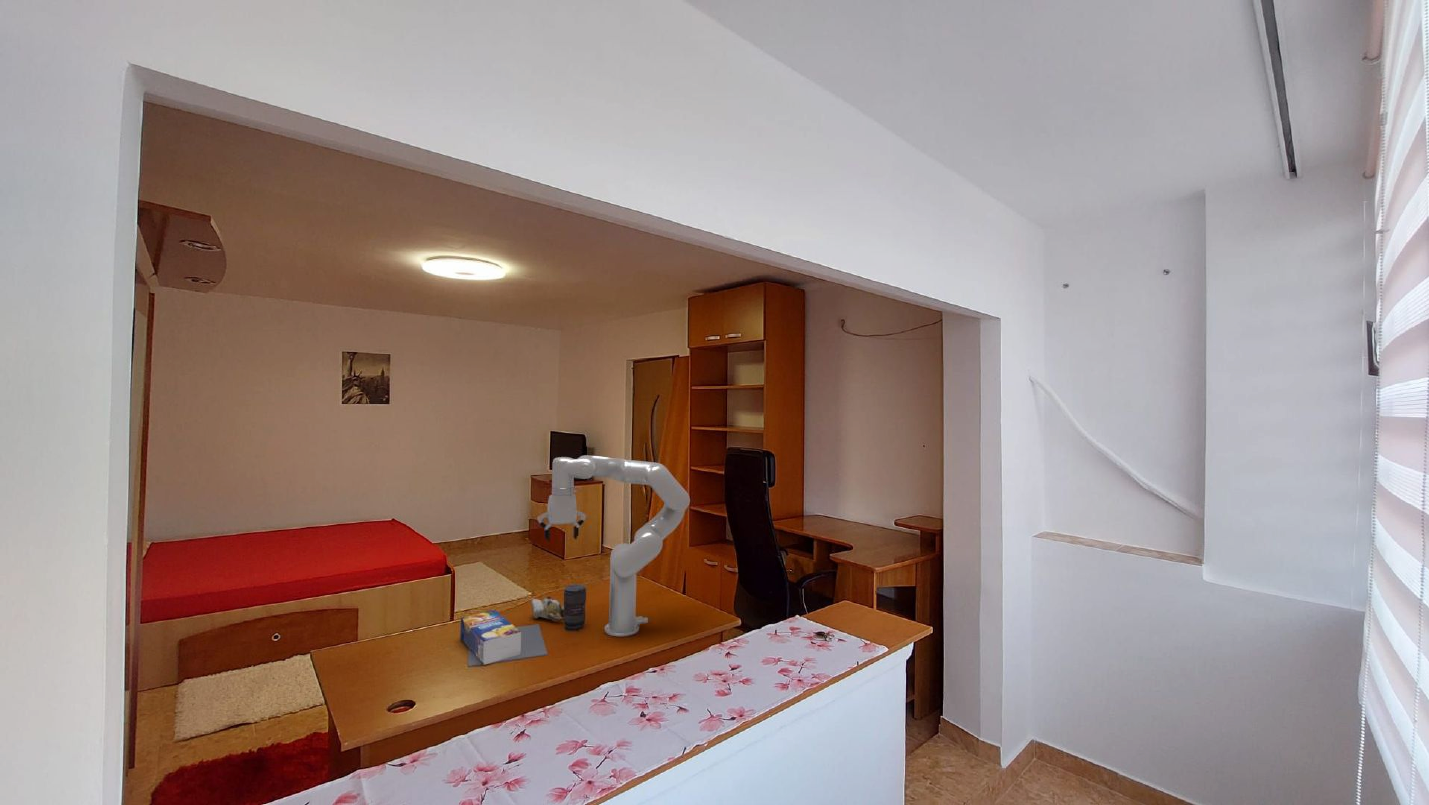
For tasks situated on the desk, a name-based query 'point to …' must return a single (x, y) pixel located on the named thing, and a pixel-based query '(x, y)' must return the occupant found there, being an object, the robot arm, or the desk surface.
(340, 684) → the desk surface
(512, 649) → the juice carton
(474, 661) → the mat
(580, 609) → the camera lens
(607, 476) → the robot arm
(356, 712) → the desk surface
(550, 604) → the ceramic sculpture
